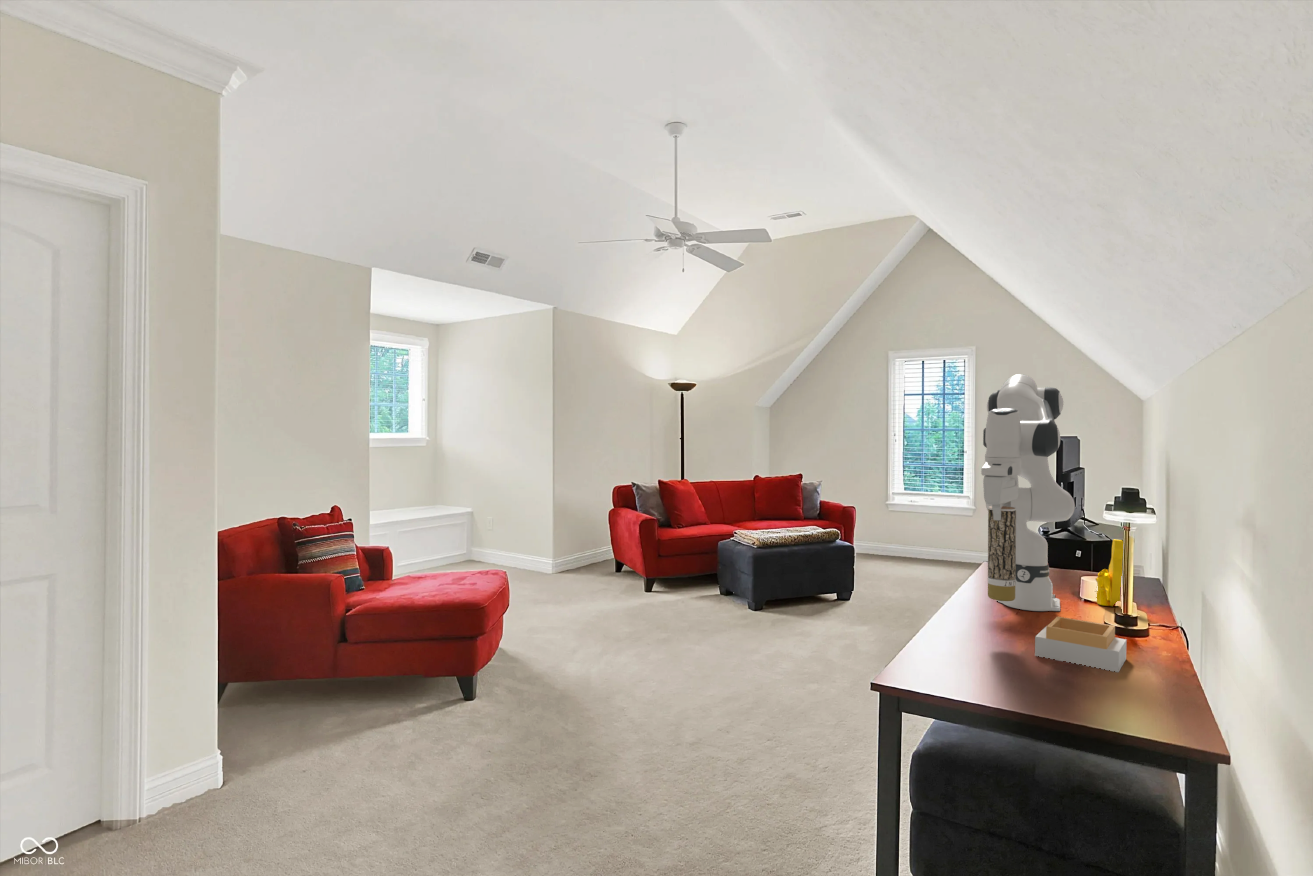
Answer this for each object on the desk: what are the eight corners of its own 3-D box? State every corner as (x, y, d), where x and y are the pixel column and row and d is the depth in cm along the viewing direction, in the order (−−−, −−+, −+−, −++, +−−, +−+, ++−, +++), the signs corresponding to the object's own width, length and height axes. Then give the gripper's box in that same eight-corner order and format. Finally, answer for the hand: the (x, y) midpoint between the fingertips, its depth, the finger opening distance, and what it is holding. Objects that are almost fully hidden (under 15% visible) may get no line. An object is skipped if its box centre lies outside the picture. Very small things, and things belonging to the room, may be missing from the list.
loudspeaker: (1046, 644, 188) (1046, 614, 188) (1126, 659, 176) (1126, 627, 176) (1034, 655, 178) (1035, 624, 178) (1118, 672, 166) (1119, 639, 166)
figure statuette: (1089, 598, 240) (1091, 534, 240) (1116, 600, 237) (1117, 536, 237) (1101, 610, 224) (1102, 542, 223) (1129, 613, 221) (1131, 544, 220)
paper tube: (984, 599, 189) (984, 507, 189) (992, 594, 194) (992, 505, 194) (1011, 603, 185) (1011, 509, 184) (1018, 598, 190) (1019, 507, 189)
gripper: (1000, 465, 199) (1000, 513, 199) (979, 469, 183) (978, 521, 184) (1025, 466, 195) (1024, 515, 195) (1005, 470, 179) (1004, 523, 179)
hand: (1001, 518), depth 189 cm, fingers closed on paper tube, 7 cm apart
